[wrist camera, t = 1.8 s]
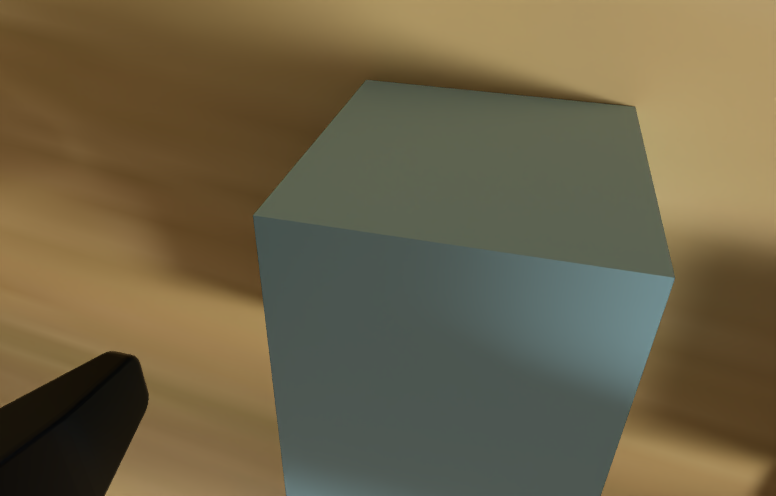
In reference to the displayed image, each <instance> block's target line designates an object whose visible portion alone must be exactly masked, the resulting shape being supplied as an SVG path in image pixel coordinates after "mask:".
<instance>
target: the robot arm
mask: <svg viewBox="0 0 776 496" xmlns="http://www.w3.org/2000/svg"><path fill="white" fill-rule="evenodd" d="M148 400H149V394H148V390H147V386H146V383H145V379H144V376H143V372H142V368H141V365H140V362H139V360H138V359H137V357H136V356H134V355H130V354H125V353H121V352H115V351H109V352H106V353H104V354H101V355H100V356H98V357H96V358H94V359H92V360H90V361H88V362H86V363H84V364H83V365H81V366H79V367H77V368H75V369H73V370H71V371H69V372H67V373H66V374H64V375H62V376H60V377H58V378H56V379H54V380H52V381H50V382H49V383H47V384H45V385H43V386H41V387H39V388H37V389H35V390H33V391H32V392H30V393H28V394H26V395H24V396H22V397H20V398H18V399H16V400H15V401H13V402H11V403H9V404H7V405H5V406H3V407H1V408H0V496H105V494H106V492H107V490H108V488H109V486H110V484H111V482H112V480H113V478H114V476H115V474H116V471H117V469H118V467H119V465H120V463H121V461H122V459H123V457H124V455H125V453H126V451H127V449H128V447H129V445H130V442H131V440H132V438H133V436H134V434H135V432H136V430H137V428H138V426H139V424H140V422H141V420H142V418H143V416H144V413H145V411H146V409H147V405H148Z"/></svg>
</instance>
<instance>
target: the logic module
mask: <svg viewBox="0 0 776 496" xmlns="http://www.w3.org/2000/svg"><path fill="white" fill-rule="evenodd" d="M253 219H254V228H255V236H256V245H257V253H258V261H259V270H260V278H261V287H262V295H263V304H264V312H265V321H266V329H267V337H268V346H269V354H270V363H271V371H272V380H273V388H274V397H275V405H276V414H277V422H278V430H279V439H280V447H281V456H282V464H283V473H284V481H285V490H286V496H601V493H602V490H603V487H604V484H605V481H606V478H607V476H608V473H609V470H610V467H611V464H612V461H613V458H614V455H615V452H616V449H617V446H618V443H619V440H620V437H621V435H622V432H623V429H624V426H625V423H626V420H627V417H628V414H629V411H630V408H631V405H632V402H633V399H634V397H635V394H636V391H637V388H638V385H639V382H640V379H641V376H642V373H643V370H644V367H645V364H646V361H647V358H648V356H649V353H650V350H651V347H652V344H653V341H654V338H655V335H656V332H657V329H658V326H659V323H660V320H661V318H662V315H663V312H664V309H665V306H666V303H667V300H668V297H669V294H670V291H671V288H672V285H673V282H674V279H675V276H674V271H673V267H672V263H671V258H670V254H669V250H668V245H667V241H666V237H665V233H664V228H663V224H662V220H661V215H660V211H659V207H658V203H657V198H656V194H655V190H654V185H653V181H652V177H651V172H650V168H649V164H648V160H647V155H646V151H645V147H644V142H643V138H642V134H641V130H640V125H639V121H638V117H637V112H636V108H635V107H632V106H623V105H613V104H603V103H593V102H583V101H573V100H563V99H553V98H543V97H533V96H523V95H513V94H503V93H493V92H483V91H473V90H463V89H453V88H443V87H433V86H423V85H413V84H403V83H393V82H383V81H374V80H366V81H365V82H364V83H363V84H362V86H361V87H360V88H359V89H358V90H357V92H356V93H355V94H354V95H353V96H352V98H351V99H350V100H349V101H348V102H347V104H346V105H345V106H344V107H343V108H342V110H341V111H340V112H339V113H338V114H337V116H336V117H335V118H334V119H333V120H332V121H331V123H330V124H329V125H328V126H327V127H326V129H325V130H324V131H323V132H322V133H321V135H320V136H319V137H318V138H317V139H316V141H315V142H314V143H313V144H312V145H311V147H310V148H309V149H308V150H307V151H306V153H305V154H304V155H303V156H302V157H301V159H300V160H299V161H298V162H297V163H296V165H295V166H294V167H293V168H292V169H291V171H290V172H289V173H288V174H287V175H286V176H285V178H284V179H283V180H282V181H281V182H280V184H279V185H278V186H277V187H276V188H275V190H274V191H273V192H272V193H271V194H270V196H269V197H268V198H267V199H266V200H265V202H264V203H263V204H262V205H261V206H260V208H259V209H258V210H257V211H256V212H255V214H254V215H253Z"/></svg>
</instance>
